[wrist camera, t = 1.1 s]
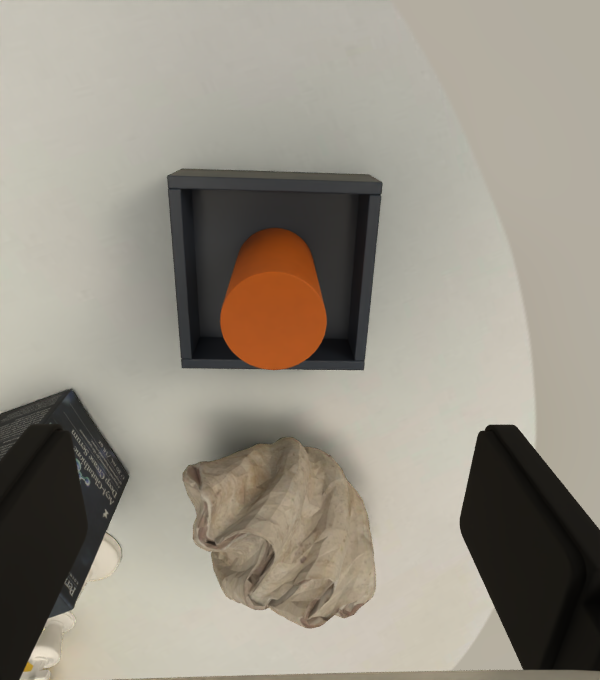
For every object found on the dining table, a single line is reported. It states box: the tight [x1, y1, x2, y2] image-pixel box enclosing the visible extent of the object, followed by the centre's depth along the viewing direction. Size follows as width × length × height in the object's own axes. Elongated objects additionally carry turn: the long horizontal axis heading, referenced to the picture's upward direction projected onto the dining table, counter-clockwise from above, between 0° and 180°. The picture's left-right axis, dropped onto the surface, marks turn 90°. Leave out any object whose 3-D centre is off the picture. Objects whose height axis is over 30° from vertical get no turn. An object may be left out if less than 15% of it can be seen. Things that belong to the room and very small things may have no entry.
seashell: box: [183, 437, 376, 628], centre depth 30 cm, size 10×15×10 cm
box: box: [0, 390, 129, 618], centre depth 28 cm, size 8×6×11 cm
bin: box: [167, 169, 382, 370], centre depth 26 cm, size 10×10×4 cm
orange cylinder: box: [220, 228, 327, 370], centre depth 24 cm, size 4×4×8 cm
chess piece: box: [20, 533, 122, 680], centre depth 32 cm, size 5×5×10 cm
